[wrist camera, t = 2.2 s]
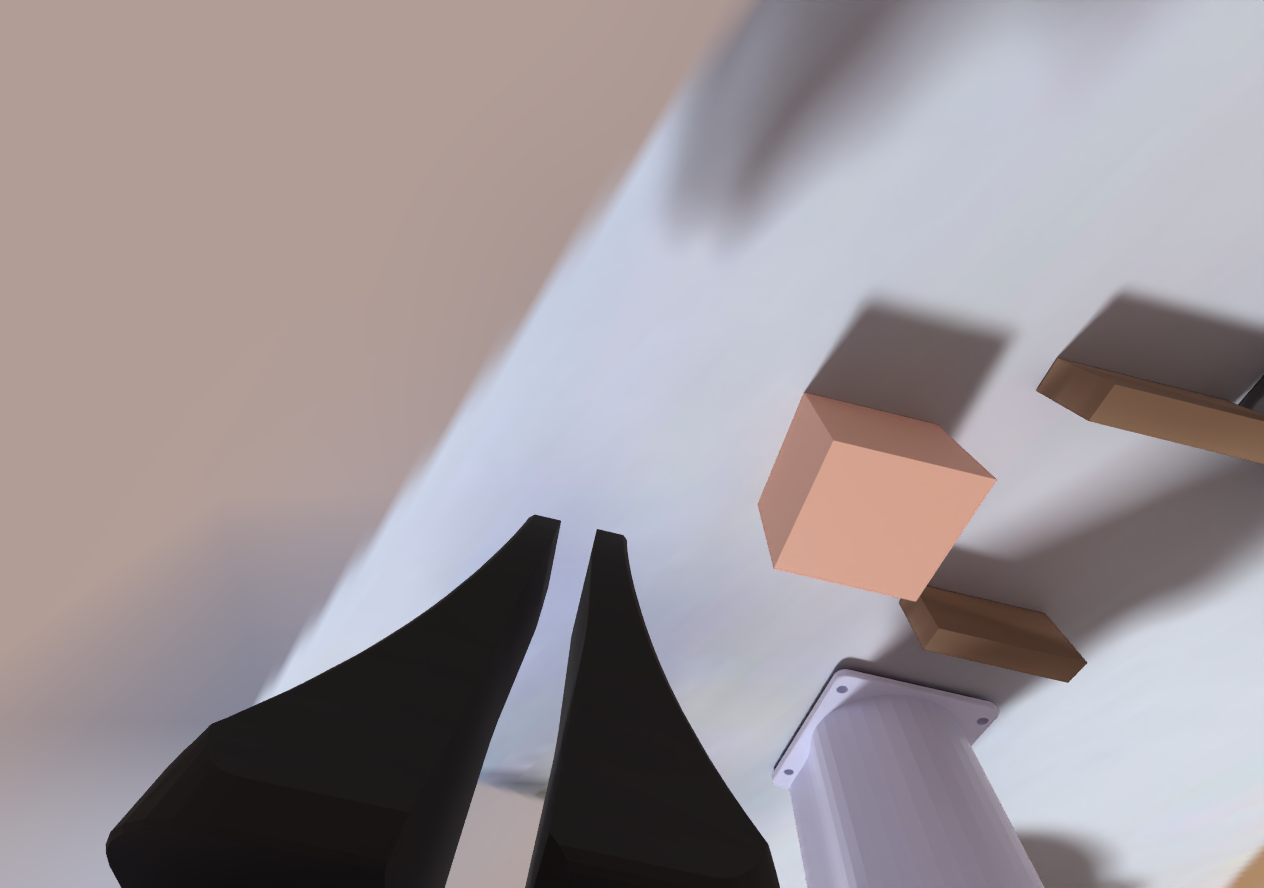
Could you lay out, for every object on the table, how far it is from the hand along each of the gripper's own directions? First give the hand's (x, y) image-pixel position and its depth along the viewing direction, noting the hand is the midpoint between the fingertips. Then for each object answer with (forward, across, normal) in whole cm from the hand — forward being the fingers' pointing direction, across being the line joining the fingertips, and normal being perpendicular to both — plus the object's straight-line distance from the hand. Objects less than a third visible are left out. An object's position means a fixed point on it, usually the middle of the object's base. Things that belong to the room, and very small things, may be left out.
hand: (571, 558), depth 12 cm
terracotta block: (+9, -9, 0) cm, 12 cm away
